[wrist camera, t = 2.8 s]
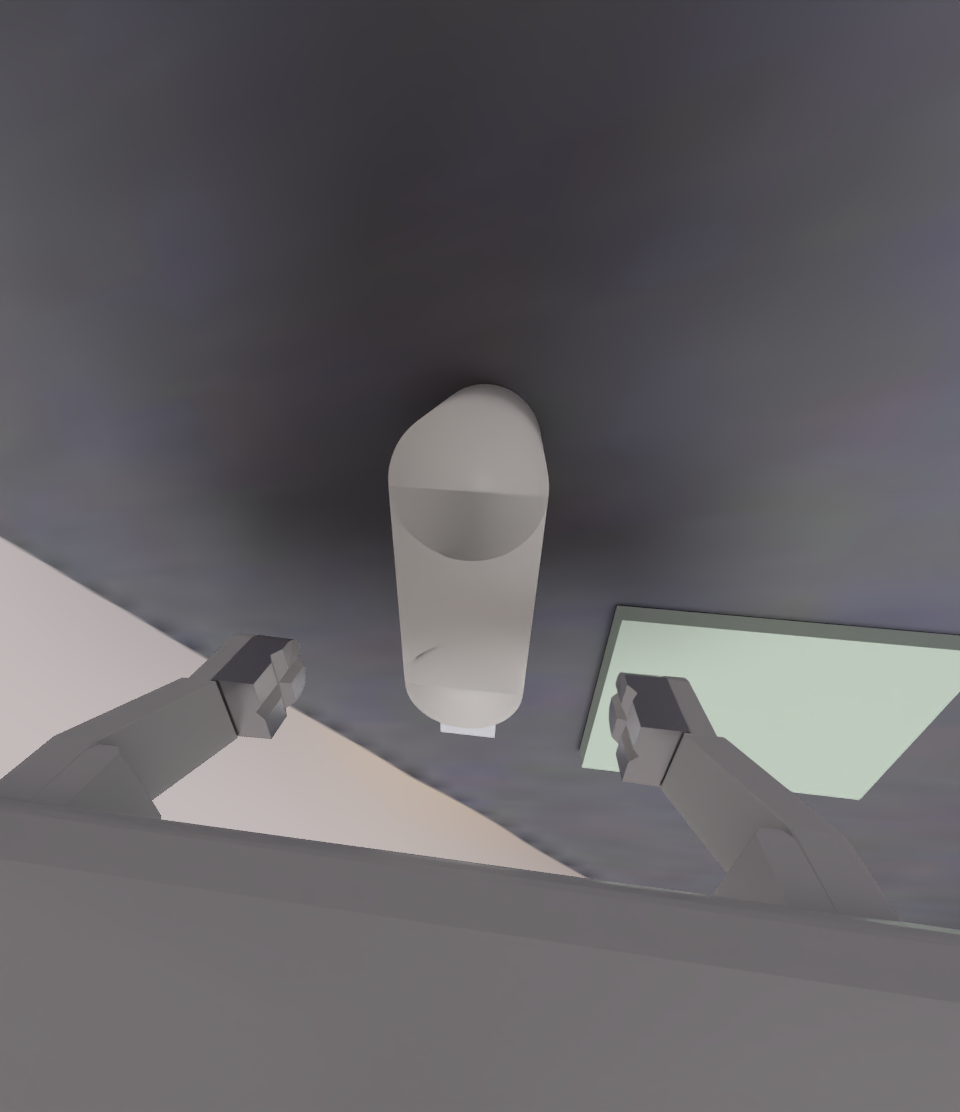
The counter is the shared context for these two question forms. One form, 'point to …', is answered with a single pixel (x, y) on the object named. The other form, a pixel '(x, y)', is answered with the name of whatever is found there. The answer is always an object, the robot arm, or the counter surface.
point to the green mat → (786, 690)
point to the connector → (468, 554)
